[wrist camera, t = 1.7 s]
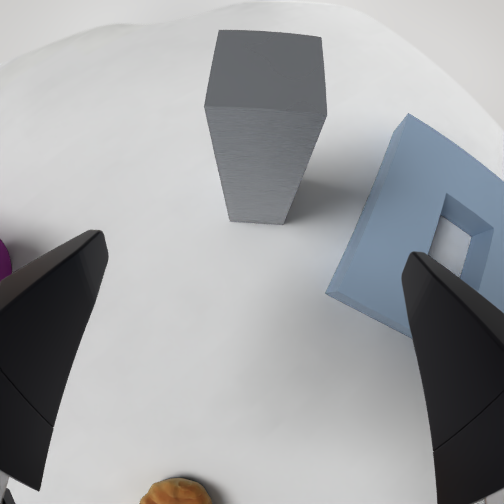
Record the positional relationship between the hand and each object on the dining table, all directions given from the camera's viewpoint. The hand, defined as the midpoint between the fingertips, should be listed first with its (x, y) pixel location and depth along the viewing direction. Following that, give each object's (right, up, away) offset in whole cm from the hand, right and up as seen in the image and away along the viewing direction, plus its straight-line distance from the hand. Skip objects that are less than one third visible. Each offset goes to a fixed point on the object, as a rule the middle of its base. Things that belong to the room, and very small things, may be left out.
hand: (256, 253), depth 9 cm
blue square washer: (+14, 0, +12) cm, 19 cm away
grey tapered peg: (0, +4, +13) cm, 13 cm away
